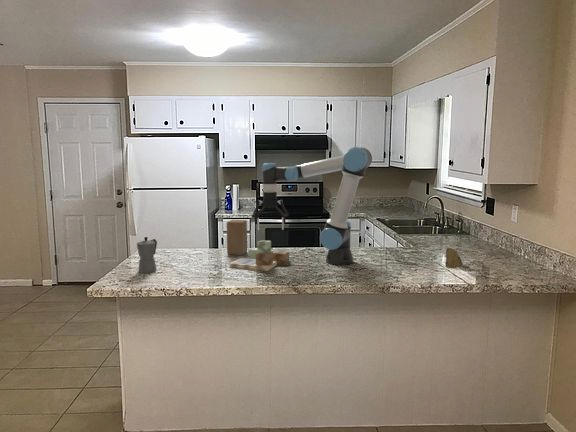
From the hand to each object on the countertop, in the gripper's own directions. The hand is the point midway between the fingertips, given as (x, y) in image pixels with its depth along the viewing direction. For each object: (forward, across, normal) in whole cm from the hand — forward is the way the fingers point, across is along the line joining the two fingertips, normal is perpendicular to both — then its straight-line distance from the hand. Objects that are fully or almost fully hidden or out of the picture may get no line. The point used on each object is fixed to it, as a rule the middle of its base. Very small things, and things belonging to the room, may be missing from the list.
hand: (270, 229), depth 247 cm
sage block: (+18, +10, -6) cm, 21 cm away
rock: (+20, -98, +10) cm, 101 cm away
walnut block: (+18, -6, +2) cm, 19 cm away
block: (+18, +22, -20) cm, 34 cm away
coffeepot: (+18, +63, +19) cm, 68 cm away
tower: (+16, +3, +12) cm, 20 cm away
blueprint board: (+18, +9, +10) cm, 22 cm away
